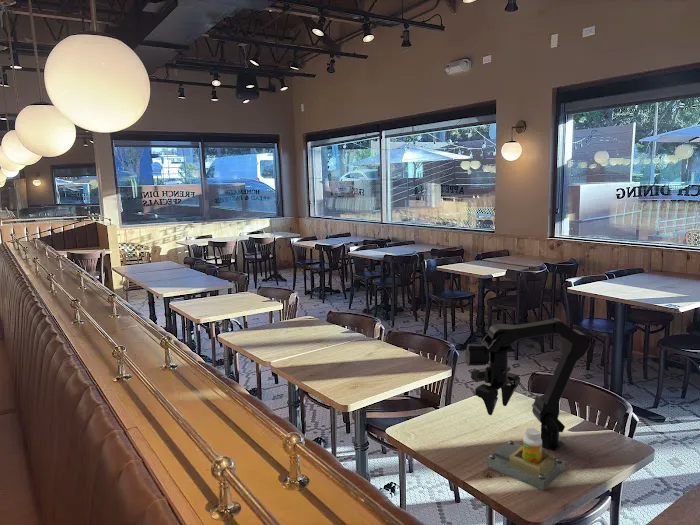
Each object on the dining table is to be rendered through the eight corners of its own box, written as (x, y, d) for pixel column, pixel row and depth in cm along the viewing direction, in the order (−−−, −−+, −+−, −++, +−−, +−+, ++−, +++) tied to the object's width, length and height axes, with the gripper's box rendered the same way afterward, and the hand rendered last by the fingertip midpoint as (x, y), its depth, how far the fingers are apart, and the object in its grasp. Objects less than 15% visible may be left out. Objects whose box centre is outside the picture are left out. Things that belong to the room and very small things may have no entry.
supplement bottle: (519, 462, 154) (520, 432, 152) (525, 454, 158) (527, 425, 156) (537, 468, 150) (539, 437, 149) (543, 460, 155) (545, 430, 153)
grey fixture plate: (509, 449, 167) (509, 434, 166) (564, 470, 154) (565, 454, 154) (486, 466, 157) (486, 451, 157) (543, 490, 145) (544, 474, 144)
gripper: (491, 351, 177) (490, 394, 179) (460, 366, 164) (460, 412, 166) (521, 359, 169) (520, 403, 172) (492, 374, 156) (490, 423, 159)
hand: (497, 410), depth 167 cm, fingers open, 9 cm apart
